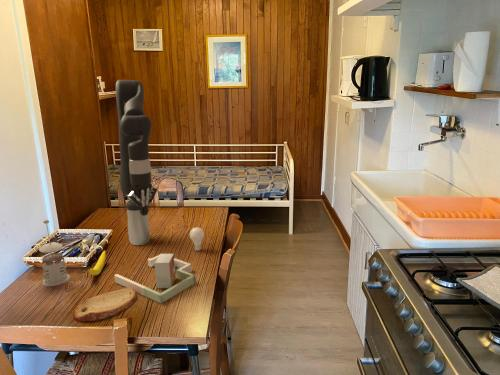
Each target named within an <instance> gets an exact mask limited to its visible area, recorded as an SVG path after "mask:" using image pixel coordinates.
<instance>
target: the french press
mask: <svg viewBox="0 0 500 375" xmlns="http://www.w3.org/2000/svg"><path fill="white" fill-rule="evenodd" d="M49 223H50V220H49V219H44V220H43V224H46V230H47V236H48V241H49V242H48V243H45V244H42V246H40V247H39V248H38V251H39V252H40V253H41V254H42V253H44V254H46V255H44V256H43V257H42V258H41V260H42V262H41V267H42V273H43V278H44V279H43V281H42V282H41V283H42V285H44V286H47V287H55V286H59V285H62V284H65V283H66V282H68V281H69V280H70V278H71V276H70V275H69V274H68V273H67V268H66V262H65V261H66V260H65V258H64V257H63V256H64V255H63V253H58V252H56V251H60V250H61V249H62V248H63V244H62V243H59V242H55V241H53V242H51V240H50V234H49V228H48V224H49Z"/></svg>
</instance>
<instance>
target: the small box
mask: <svg viewBox="0 0 500 375" xmlns="http://www.w3.org/2000/svg"><path fill="white" fill-rule="evenodd" d="M158 255H159V257H158V258H157V260H156V262H155V263H154V264H155V266H154V273H155V284H156V289H169V288H171V287H172V286H174V282H175V281H176V278H177V275H176V274H175V262H174V258H175V254H174V253H159V254H158Z"/></svg>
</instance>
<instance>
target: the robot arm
mask: <svg viewBox="0 0 500 375" xmlns="http://www.w3.org/2000/svg"><path fill="white" fill-rule="evenodd" d="M115 99H116V107H117V117H118V143H119V144H118V146H119V157H120V158H119V159H120V175H119V176H120V177H119V186H120V190H121V193H122V195H124V196H125V197H126V199H128V201H127V202H126V214H127V215H126V216H127V224H126V225H127V232H128V233H127V234H128V240H129V241H128V242H130V244H131V245H133V246H144V245H146V244H148V243H150V242H151V234H150V224H149V204H151V203H153V200H154V198H155V195H156V194H157V192H158V188H156V187H154V186H153V184H152V182H153V181H152V180H153V179H152V170H151V169H152V168H151V161H150V155H149V154H150V153H149V151H150V150H149V140H150V135H151V132H152V126H153V125H152V120H151V118H150V117H149V116H147V115H145V111H144V104H145V103H144V102H145V90H144V84H143V83H142V81H141V80H135V79H134V80H133V79H132V80H131V79H118V80H117V81H116V83H115Z"/></svg>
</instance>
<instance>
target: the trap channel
mask: <svg viewBox="0 0 500 375" xmlns="http://www.w3.org/2000/svg"><path fill="white" fill-rule="evenodd" d="M159 255H160V254H158V255H156V256H153V257H152V258H150V257H149V258H147V265H148V267H151V268H152V267H155V264H154V263H155V262H156V260H157V258H158V257H159ZM174 262H175V275H176V278H178V279H181V281H179V282H177V283H176V284H173V285H172V287H171V288H166V290H164V291H162V292H159V291H156V290H154V289H152V288H150V287H148V286H145V285H143V284H141V283H138V282H137V281H134V280H131V279H129V278H127V277H125V276H122V275H120V274H119V273H118V274H117V273H116V274H114V275H113V277H114V282H115V283H116V284H118V285H120V286H122V287H123V288H130V289H133V290H134V291H135V292H136V294H140V295H141V296H143V297H144V296H145V298H148V299H150V300H153V301H155V302H157V303H158V304H163V303H164V302H166V301H168V300H169V299H171V298H172V297H175V296H177V294H179V293H181V292H182V291H184V290H186V289H187V288H189V287H191V286H193V285H194V284H195V283H197V280H196V279H197V278H196V276H197V275H196V274H193V273H191V272H192V263H190V262H186V261H184V260H181V259H178V258H175V257H174Z"/></svg>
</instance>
